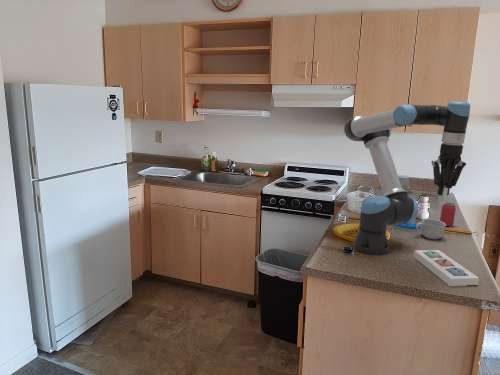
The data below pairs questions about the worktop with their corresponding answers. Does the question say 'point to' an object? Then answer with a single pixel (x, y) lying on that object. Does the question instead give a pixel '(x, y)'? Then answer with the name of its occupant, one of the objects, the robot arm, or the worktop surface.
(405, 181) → the water bottle
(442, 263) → the three pip button
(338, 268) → the worktop surface
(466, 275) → the button panel
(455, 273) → the two pip button
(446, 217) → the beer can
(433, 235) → the teacup
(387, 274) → the worktop surface
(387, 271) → the worktop surface
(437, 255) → the one pip button
